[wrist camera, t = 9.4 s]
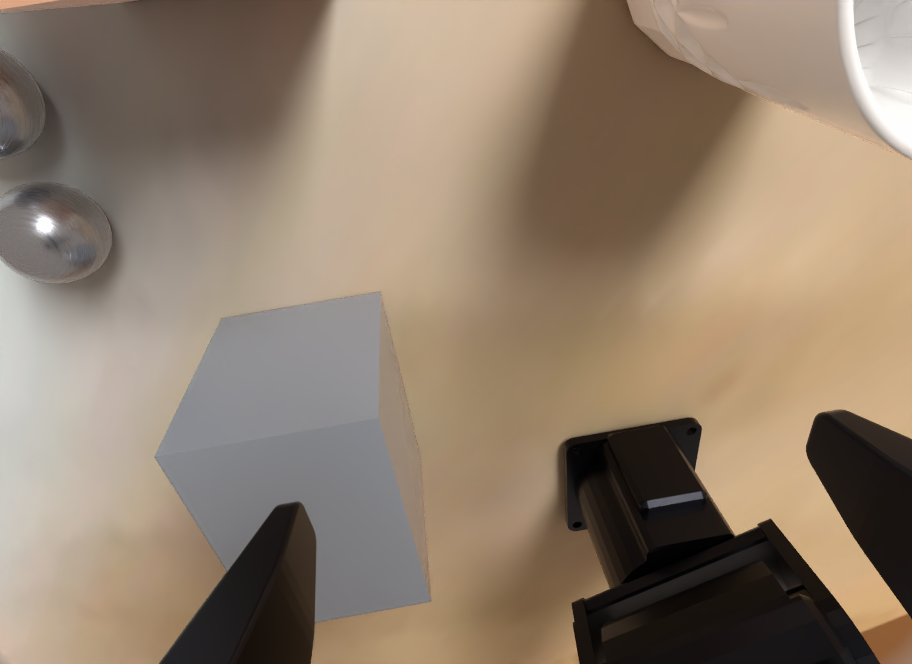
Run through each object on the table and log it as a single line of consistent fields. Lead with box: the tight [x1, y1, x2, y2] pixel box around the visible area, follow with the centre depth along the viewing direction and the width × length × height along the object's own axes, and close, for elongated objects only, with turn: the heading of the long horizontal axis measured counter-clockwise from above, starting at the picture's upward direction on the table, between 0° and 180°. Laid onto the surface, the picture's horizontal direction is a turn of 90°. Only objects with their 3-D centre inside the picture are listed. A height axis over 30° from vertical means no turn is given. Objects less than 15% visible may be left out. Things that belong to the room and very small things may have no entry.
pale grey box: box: [155, 292, 431, 623], centre depth 20 cm, size 9×6×7 cm, turn 8°
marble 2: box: [0, 182, 112, 284], centre depth 16 cm, size 3×3×3 cm
